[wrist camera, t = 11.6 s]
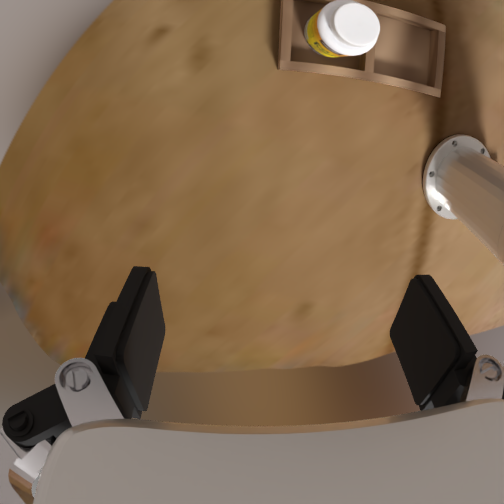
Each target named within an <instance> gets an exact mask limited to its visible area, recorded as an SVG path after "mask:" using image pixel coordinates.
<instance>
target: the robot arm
mask: <svg viewBox="0 0 504 504" xmlns="http://www.w3.org/2000/svg"><path fill="white" fill-rule="evenodd" d="M423 190H424V195H425V198H426V200H427V202H428V204H429V205H430V207H431V208H432V209H433V210H434V211H435V212H436V213H437V214H438V215H440V216H441V217H444V218H447V219H459V220H460V221H461V222H462V223H463V224H464V225H465V226H466V227H467V228H468V229H469V230H470V231H471V232H472V233H473V234H474V235H475V236H476V237H477V238H478V239H479V240H480V241H481V242H482V243H483V244H484V245H485V246H486V247H487V248H488V249H489V250H490V251H491V252H492V253H493V254H494V256H495V257H496V258H497V259H498V260H499V261H500V262H501V263H502V264H503V265H504V166H503V165H501V164H499V163H498V162H496V161H494V160H492V159H491V158H490V155H489V153H488V151H487V149H486V148H485V146H484V145H483V144H482V143H481V142H480V141H479V140H477V139H475V138H473V137H471V136H468V135H465V134H457V135H453V136H450V137H448V138H446V139H444V140H443V141H442V142H441V143H439V144H438V145H437V146H436V148H435V149H434V150H433V151H432V153H431V155H430V156H429V158H428V161H427V163H426V166H425V170H424V174H423ZM164 336H165V323H164V318H163V312H162V307H161V301H160V295H159V289H158V283H157V277H156V273H155V272H154V271H151V269H150V268H149V267H137V266H134V267H133V268H132V270H131V272H130V274H129V276H128V278H127V281H126V283H125V285H124V287H123V289H122V291H121V293H120V295H119V297H118V300H117V302H111V303H110V304H109V306H108V308H107V310H106V312H105V314H104V316H103V318H102V321H101V323H100V325H99V327H98V329H97V332H96V334H95V336H94V338H93V341H92V343H91V345H90V348H89V350H88V352H87V355H86V357H85V359H84V358H74V359H71V360H68V361H67V362H65V363H63V364H62V365H61V366H60V367H59V369H58V370H57V372H56V375H55V384H54V385H52V386H50V387H48V388H46V389H44V390H42V391H40V392H38V393H36V394H34V395H33V396H31V397H28V398H26V399H25V400H23V401H21V402H19V403H17V404H15V405H13V406H12V407H10V408H9V409H8V410H7V412H6V413H5V415H4V417H3V423H2V425H3V427H2V428H1V429H0V504H504V366H502V365H501V363H500V362H499V361H498V360H497V359H496V358H494V357H493V356H490V355H481V356H479V357H478V358H476V356H475V354H476V352H477V351H478V350H477V349H476V347H475V345H474V343H473V342H472V340H471V339H470V336H469V335H468V333H467V331H466V330H465V328H464V326H463V325H462V323H461V321H460V320H459V318H458V316H457V315H456V313H455V312H454V310H453V308H452V307H451V305H450V304H449V302H448V301H447V299H446V297H445V296H444V294H443V293H442V291H441V290H440V288H439V287H438V285H437V284H436V282H435V281H434V279H433V278H432V277H431V276H430V275H416V276H415V277H414V279H411V281H410V283H409V286H408V288H407V291H406V293H405V296H404V298H403V301H402V303H401V305H400V308H399V310H398V313H397V315H396V317H395V319H394V322H393V324H392V326H391V329H390V338H391V340H392V343H393V345H394V348H395V350H396V353H397V355H398V358H399V360H400V363H401V366H402V368H403V371H404V373H405V376H406V379H407V382H408V384H409V387H410V389H411V392H412V395H413V398H414V401H415V403H416V404H417V405H419V407H420V410H421V411H418V412H413V413H408V414H401V415H395V416H390V417H382V418H375V419H368V420H360V421H351V422H341V423H331V424H317V425H299V426H220V425H203V424H186V423H175V422H164V421H151V420H140V418H141V414H142V411H147V408H148V404H149V399H150V395H151V390H152V386H153V381H154V377H155V373H156V369H157V365H158V361H159V356H160V352H161V348H162V344H163V340H164ZM131 418H138V419H131ZM41 469H42V472H41V474H40V473H39V471H40V470H41ZM39 475H40V478H39V481H38V485H37V489H36V493H35V497H33V495H32V490H31V489H32V484H33V482H34V480H35V479H36V478H37V477H38V476H39Z"/></svg>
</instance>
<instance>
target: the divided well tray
mask: <svg viewBox="0 0 504 504" xmlns="http://www.w3.org/2000/svg"><path fill="white" fill-rule="evenodd" d="M333 1H336V0H281V7H280V30H279V51H278V70H290V71H301V72H311V73H320V74H328V75H335V76H342V77H348V78H355V79H360V80H366V81H371V82H377V83H381V84H386V85H391V86H395V87H400V88H404V89H408V90H412V91H416V92H420V93H424V94H428V95H432V96H436V97H439V98H440V95H441V87H442V77H443V67H444V54H445V35H446V25H443V24H441V23H438V22H436V21H433V20H430V19H427V18H425V17H422V16H419V15H416V14H413V13H410V12H407V11H403V10H400V9H397V8H393V7H390V6H386V5H382V4H378V3H374V2H370V1H366V0H352V1H356V2H358V3H360V4H363V5H365V6H367V7H368V8H370V9H371V10H372V11H373V12H374V13H375V14H376V16H377V18H378V20H379V23H380V33H379V35H378V39H377V41H376V43H375V45H374V46H373V47H372V48H371V49H370V50H369V51H368V52H366V53H364V54H361V55H356V56H345V57H334V58H331V57H325V56H322V55H319V54H317V53H316V52H315V51H313V50H312V49H311V48H310V47H309V45H308V44H307V42H306V39H305V35H304V29H305V25H306V23H307V21H308V20H309V19H310V18H311V17H312V16H313V15H314V14H315V13H317V12H318V11H319V10H321V9H322V8H323V7H324V6H326V5H327V4H328V3H330V2H333Z"/></svg>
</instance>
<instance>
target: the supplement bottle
mask: <svg viewBox="0 0 504 504" xmlns="http://www.w3.org/2000/svg"><path fill="white" fill-rule="evenodd" d="M379 33H380V23H379V20H378V18H377V16H376V14H375V13H374V12H373V11H372V10H371V9H370V8H368V7H367V6H365V5H363V4H360V3H358V2H356V1H352V0H336V1H333V2H330V3H328V4H327V5H326V6H324V7H323V8H322V9H321V10H319V11H318V12H317V13H315V14H314V15H313V16H312V17H311V18H310V19H309V20H308V21H307V23H306V25H305V29H304V35H305V39H306V42H307V44H308V45H309V47H310V48H311V49H312V50H313V51H315V52H316V53H317V54H319V55H322V56H325V57H331V58H334V57H345V56H356V55H361V54H364V53H366V52H368V51H369V50H370V49H371V48H372V47H373V46H374V45H375V43H376V41H377V39H378V35H379Z"/></svg>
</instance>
